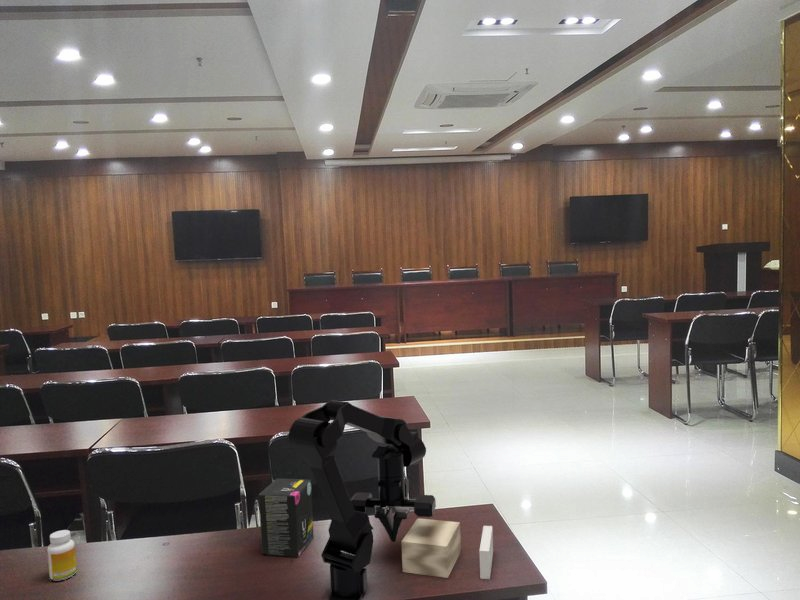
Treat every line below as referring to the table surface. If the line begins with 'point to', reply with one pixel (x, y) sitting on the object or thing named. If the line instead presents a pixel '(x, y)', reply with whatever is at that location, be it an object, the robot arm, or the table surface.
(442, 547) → the block
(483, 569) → the bar
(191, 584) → the table surface
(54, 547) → the supplement bottle
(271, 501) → the tampon box
